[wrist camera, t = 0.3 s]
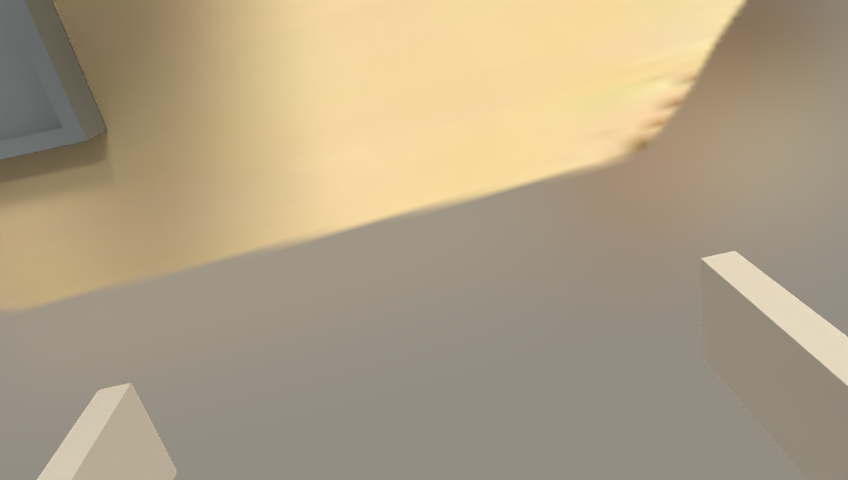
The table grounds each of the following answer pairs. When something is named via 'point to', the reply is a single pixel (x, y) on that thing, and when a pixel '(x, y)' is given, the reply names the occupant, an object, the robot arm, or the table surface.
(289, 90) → the table surface
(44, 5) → the slate tray
